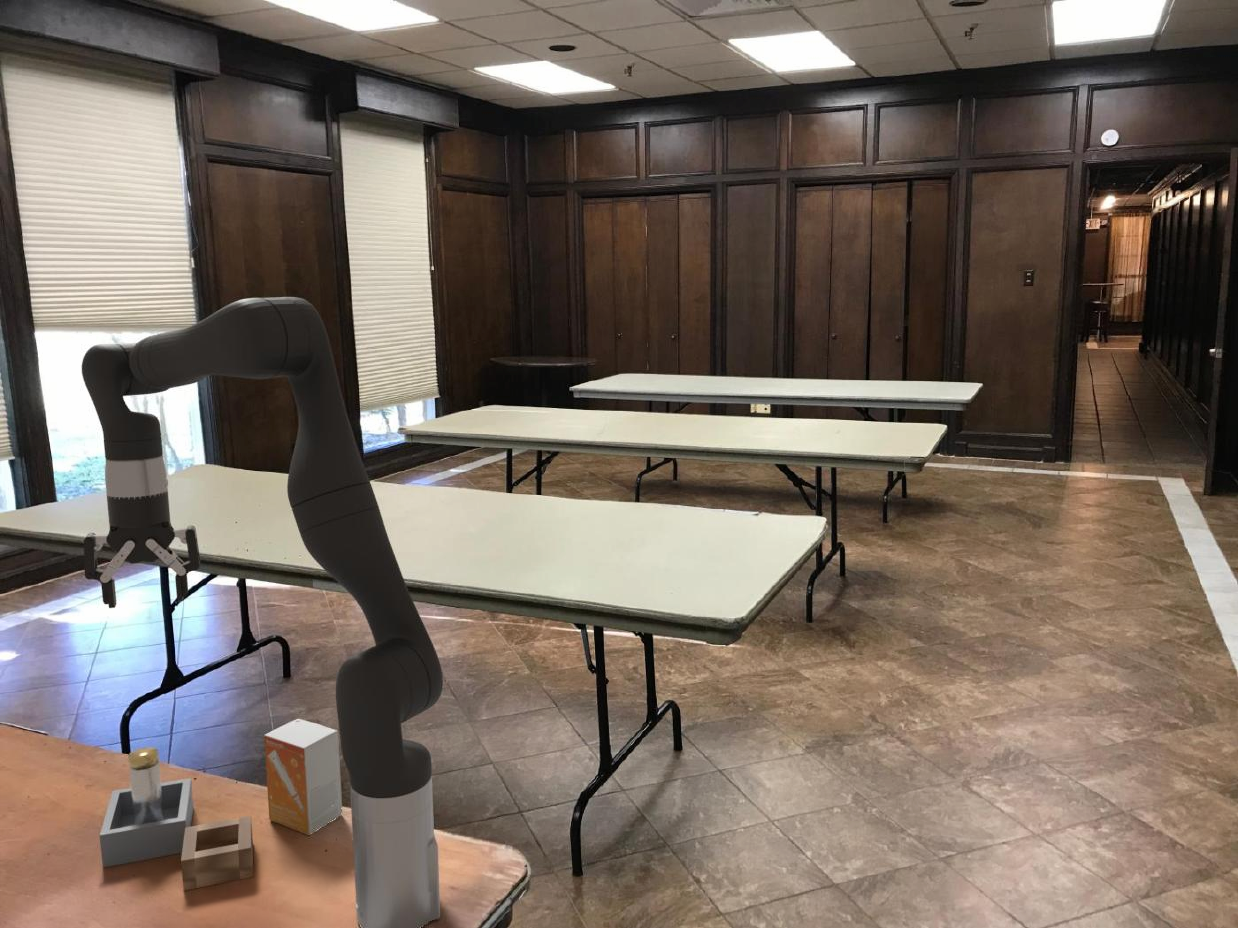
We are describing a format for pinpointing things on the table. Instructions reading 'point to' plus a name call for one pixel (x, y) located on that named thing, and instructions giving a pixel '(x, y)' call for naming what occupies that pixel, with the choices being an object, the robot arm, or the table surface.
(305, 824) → the small box
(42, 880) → the table surface
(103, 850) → the tray
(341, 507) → the robot arm
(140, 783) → the gold lid glass jar
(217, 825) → the collar
